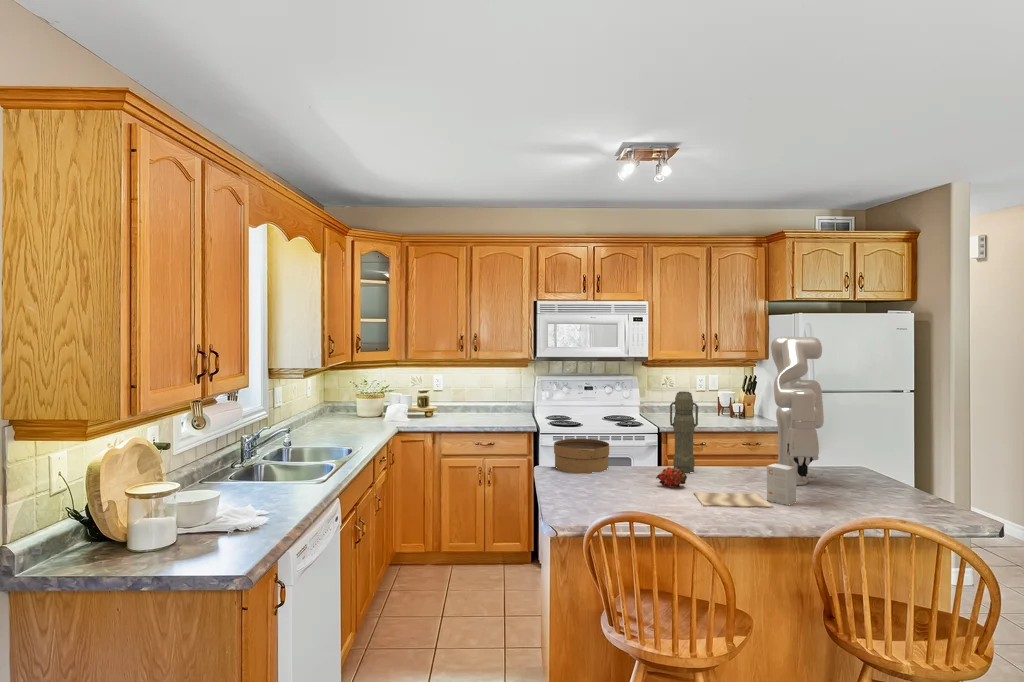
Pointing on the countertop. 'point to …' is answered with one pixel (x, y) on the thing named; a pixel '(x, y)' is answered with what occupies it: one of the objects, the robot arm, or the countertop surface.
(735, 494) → the maple board
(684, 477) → the dragon fruit
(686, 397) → the thermos
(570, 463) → the steamer basket
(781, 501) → the small box
